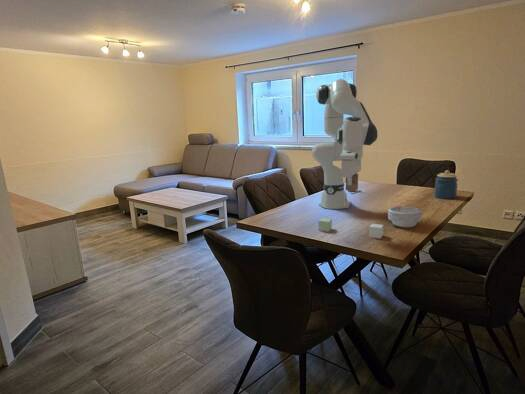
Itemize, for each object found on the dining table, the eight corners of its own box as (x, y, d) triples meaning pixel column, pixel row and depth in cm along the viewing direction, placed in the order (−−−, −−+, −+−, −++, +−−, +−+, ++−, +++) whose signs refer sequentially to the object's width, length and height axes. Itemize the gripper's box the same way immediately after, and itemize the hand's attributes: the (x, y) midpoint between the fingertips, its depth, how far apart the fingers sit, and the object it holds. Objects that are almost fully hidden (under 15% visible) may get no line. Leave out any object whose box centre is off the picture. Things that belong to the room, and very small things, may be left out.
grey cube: (371, 233, 155) (371, 223, 154) (382, 235, 153) (383, 224, 152) (369, 237, 151) (369, 226, 150) (380, 238, 149) (381, 228, 147)
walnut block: (348, 188, 158) (348, 173, 156) (357, 188, 156) (358, 173, 154) (345, 190, 154) (345, 175, 153) (355, 190, 152) (355, 175, 150)
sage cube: (322, 227, 167) (322, 218, 166) (331, 228, 165) (331, 219, 163) (318, 230, 163) (318, 220, 162) (328, 231, 160) (328, 221, 159)
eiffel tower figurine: (353, 194, 237) (353, 176, 234) (340, 193, 244) (341, 174, 241) (364, 191, 247) (364, 173, 244) (352, 189, 254) (352, 172, 251)
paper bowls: (393, 218, 177) (394, 204, 175) (424, 223, 167) (425, 208, 165) (383, 226, 165) (383, 210, 163) (415, 231, 156) (416, 215, 154)
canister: (456, 200, 210) (458, 172, 206) (432, 198, 216) (435, 171, 212) (457, 195, 220) (459, 169, 216) (434, 194, 227) (436, 168, 223)
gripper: (351, 151, 162) (350, 179, 165) (338, 156, 144) (338, 187, 147) (364, 151, 159) (364, 180, 162) (353, 156, 141) (352, 188, 144)
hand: (351, 183), depth 154 cm, fingers closed on walnut block, 4 cm apart
